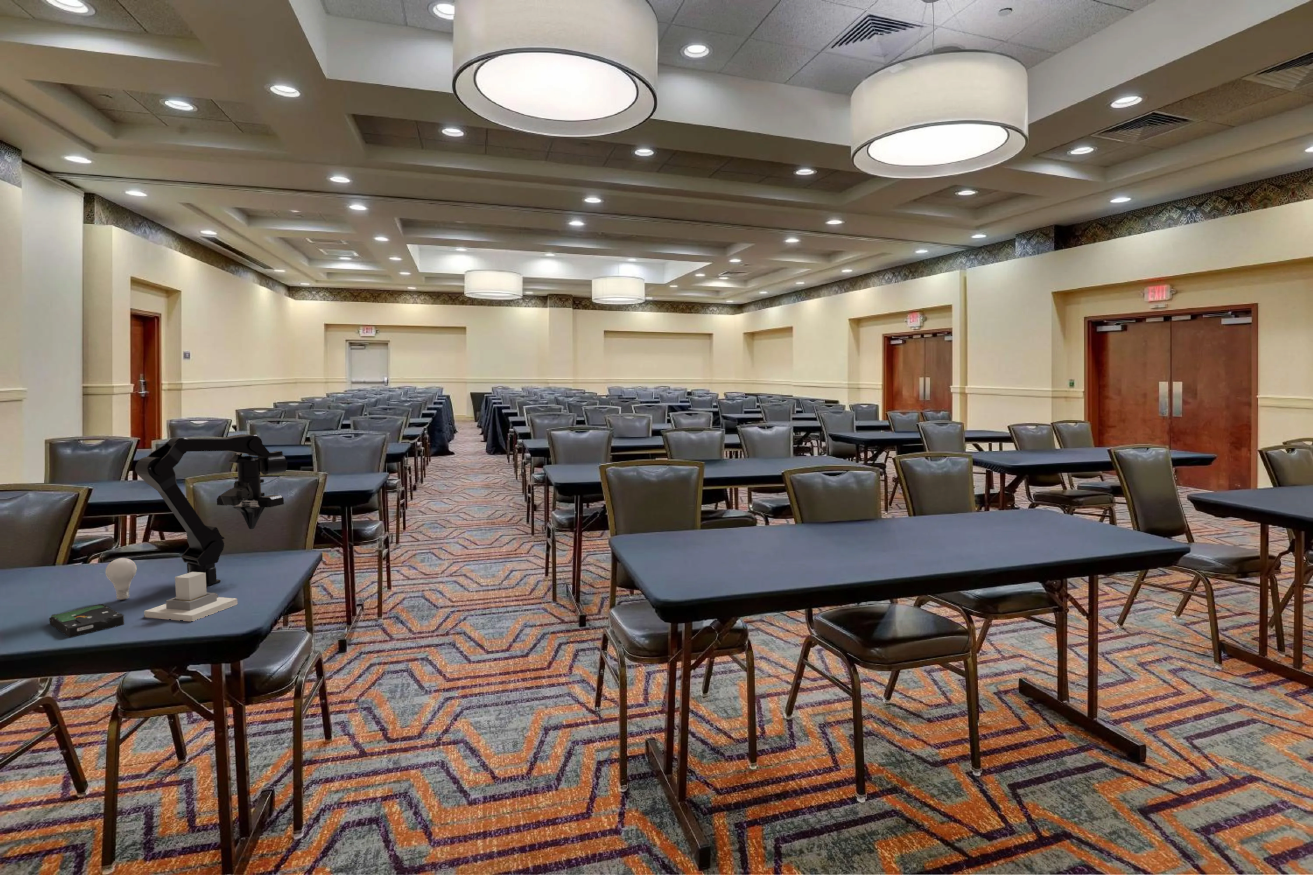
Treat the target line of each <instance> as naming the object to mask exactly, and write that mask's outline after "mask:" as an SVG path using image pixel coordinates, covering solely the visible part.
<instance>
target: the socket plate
mask: <svg viewBox="0 0 1313 875" xmlns="http://www.w3.org/2000/svg"><path fill="white" fill-rule="evenodd" d="M237 605H238V598H234V597H223V596H219V594H217V592H208V591H207V594H206V595H204V597H201V598H198V599H195V600H192V601H180V600H179V599H176V596H175V597H172V598H170V599H166V600H165V603H164V604H162V605H158V606H155V607H152V608H149V609H145V610H144V612H143V613H144V618H148V619H149V618H150V619H160V620H161V619H162V620H169V619H171V621H180V620H183V622H191V621H193V622H196V621H198V620H200V618H201V619H203V618H206V617H208V615H209V616H211V615H213V614H216V613H219V612H221V611H223V610H227V609H229V608H231V607H235V606H237ZM218 611H219V612H218ZM205 616H206V617H205ZM197 619H198V620H197ZM195 620H196V621H195Z"/></svg>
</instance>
